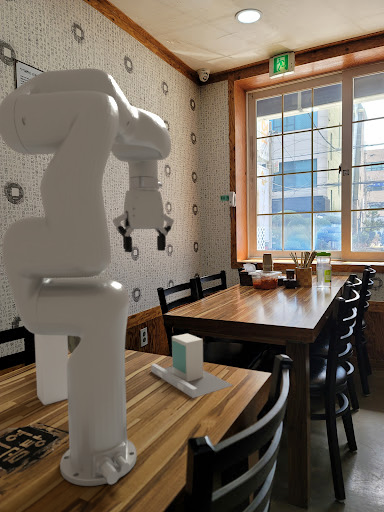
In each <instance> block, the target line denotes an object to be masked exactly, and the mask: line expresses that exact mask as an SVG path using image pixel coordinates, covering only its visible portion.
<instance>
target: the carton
mask: <svg viewBox="0 0 384 512" xmlns="http://www.w3.org/2000/svg"><path fill="white" fill-rule="evenodd" d="M203 345H204V342H203V338H200V337H197V336H196V335H193V334H189V333H184V334H179V335H173V336H171V346H172V347H171V350H172V351H171V353H172V356H171V357H172V360H171V361H172V366H173V374H175V375H176V376H178V377H180V378H182V379H183V380H185V381H187V382H188V381H192V380H195V379H199V378H202V377H203V370H204V346H203Z"/></svg>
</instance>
